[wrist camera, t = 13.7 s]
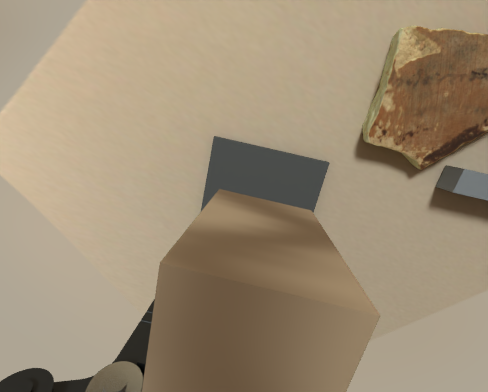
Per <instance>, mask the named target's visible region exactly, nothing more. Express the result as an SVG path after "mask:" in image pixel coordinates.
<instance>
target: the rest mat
mask: <svg viewBox="0 0 488 392" xmlns="http://www.w3.org/2000/svg"><path fill="white" fill-rule="evenodd" d="M328 166H329V162H326V161H321V160H317V159H312V158H308V157H304V156H299V155H295V154H291V153H286V152H282V151H278V150H273V149H269V148H264V147H260V146H256V145H251V144H247V143H243V142H238V141H234V140H229V139H225V138H221V137H216V136H214V139H213V145H212V151H211V156H210V162H209V168H208V174H207V179H206V185H205V191H204V197H203V202H202V208H201V211H202V210H203V209H204V207H205V206H206V205H207V204H208V202H209V201H210V200H211V199H212V198H213V196H214V195H215V194H216V193H217V191H218V190H219V189H222V190H226V191H230V192H235V193H239V194H243V195H247V196H252V197H256V198H260V199H265V200H269V201H273V202H277V203H282V204H286V205H290V206H294V207H299V208H303V209H307V210H311V211H312V212H314V209H315V206H316V203H317V200H318V196H319V193H320V190H321V187H322V184H323V181H324V178H325V175H326V172H327V169H328Z"/></svg>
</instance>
